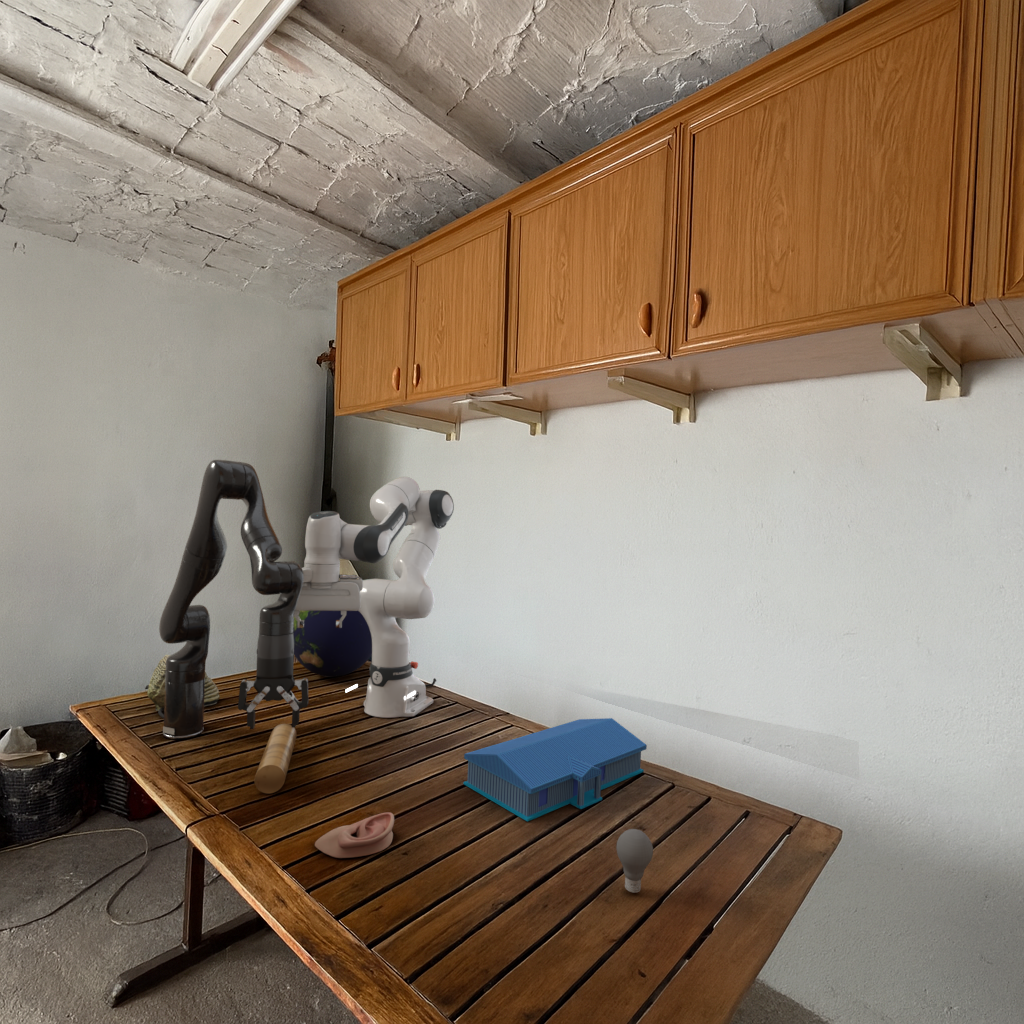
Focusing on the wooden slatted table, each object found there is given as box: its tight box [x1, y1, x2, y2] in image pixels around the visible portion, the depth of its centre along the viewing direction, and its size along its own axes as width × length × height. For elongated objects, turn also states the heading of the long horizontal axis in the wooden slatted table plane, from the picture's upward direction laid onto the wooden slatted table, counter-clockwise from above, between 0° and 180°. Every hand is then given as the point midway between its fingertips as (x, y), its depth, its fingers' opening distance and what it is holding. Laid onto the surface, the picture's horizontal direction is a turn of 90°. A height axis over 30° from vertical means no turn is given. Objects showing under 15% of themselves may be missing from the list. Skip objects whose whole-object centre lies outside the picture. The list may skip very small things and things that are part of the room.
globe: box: [293, 611, 372, 678], centre depth 222 cm, size 30×30×30 cm
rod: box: [254, 723, 298, 794], centre depth 146 cm, size 25×6×6 cm, turn 14°
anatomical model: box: [314, 812, 395, 859], centre depth 117 cm, size 13×4×12 cm
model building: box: [462, 717, 648, 822], centre depth 147 cm, size 39×24×10 cm, turn 132°
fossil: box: [147, 654, 221, 711], centre depth 185 cm, size 9×18×15 cm, turn 132°
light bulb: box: [615, 828, 654, 894], centre depth 106 cm, size 6×6×10 cm
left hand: (273, 727), depth 138 cm, fingers open, 8 cm apart
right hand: (319, 627), depth 163 cm, fingers open, 8 cm apart
